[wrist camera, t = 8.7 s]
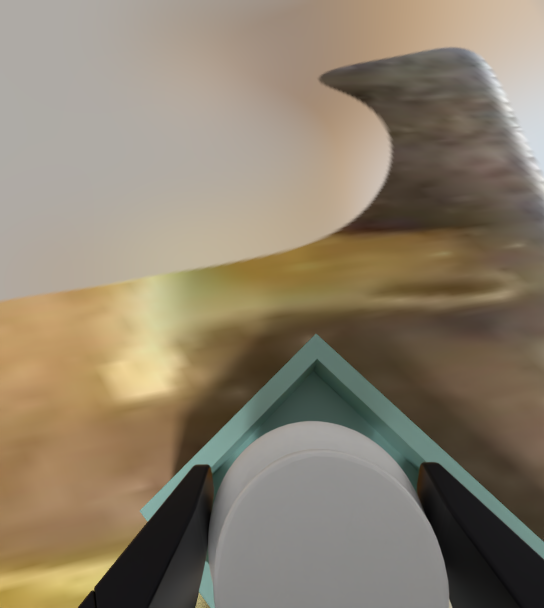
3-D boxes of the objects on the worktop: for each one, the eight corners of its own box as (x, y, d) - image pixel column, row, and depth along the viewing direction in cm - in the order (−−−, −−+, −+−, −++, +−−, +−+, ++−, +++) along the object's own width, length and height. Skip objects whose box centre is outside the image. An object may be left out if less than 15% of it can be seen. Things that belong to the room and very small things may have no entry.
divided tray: (598, 620, 15) (684, 670, 12) (451, 865, 13) (505, 1011, 9) (312, 351, 20) (316, 333, 16) (168, 497, 17) (139, 510, 14)
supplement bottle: (365, 429, 16) (461, 406, 7) (381, 577, 14) (542, 814, 5) (243, 431, 16) (181, 412, 7) (241, 577, 14) (153, 804, 5)
